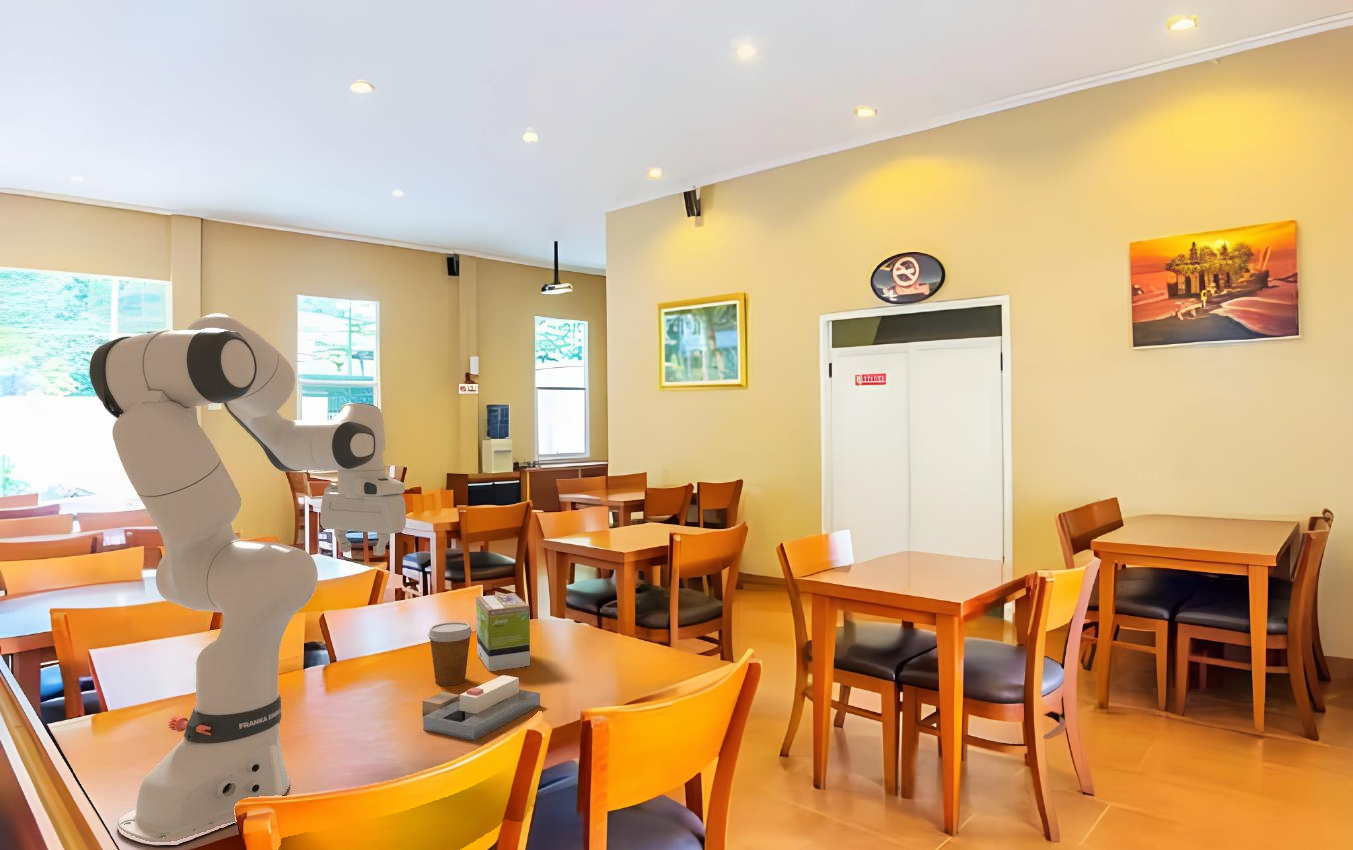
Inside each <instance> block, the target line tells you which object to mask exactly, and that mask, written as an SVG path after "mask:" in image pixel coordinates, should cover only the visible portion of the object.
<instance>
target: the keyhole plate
mask: <svg viewBox="0 0 1353 850" xmlns="http://www.w3.org/2000/svg"><path fill="white" fill-rule="evenodd" d="M538 705H540V706H541V693H540V692H538V691H537V692H536V691H532V690H531V691H530V690H525V689H520V688H519V693H517V694H515V695H513V696H511V697H509V698H507V699H505V701H503V702H501V703H499V704H497V705H493V706H491V707H489V708H487V709H485V710H483V711H481V712H479V713H477V714H475V716H473V717H471V718H469V719H466V720H465V711H460V700H458V701H456V702H454V703H451V704H449V705H447V706H445V707H443V708H441V709H438V710H436V711H434V712H432V713H430V714H428V715H425V716H423V715H422V717H423V718H422V719H423V723H422V724H423V725H422V726H423V731H426V732H427V731H428V732H432V733H437V734H441V735H446V736H451V737H454V738H455V737H456V738H458V739H459V738H460V739H463V740H467V741H473V742H475V741H477V740H479V739H480V737H481V738H482V737H484V736H485V734H486V735H488V734H489V732H490V733H491V731H492V732H494V731H495V730H497V729H499V728H500V727H503V726H505V725H506V724H508V723H510V722H513V721H514V720H515V719H517V717H518V718H519V717H521V716H523V715H526V713H528V712H531V711H533V710H534V709H536V708H538V707H539V706H538ZM537 706H538V707H537ZM535 707H536V708H535ZM513 719H514V720H513ZM509 721H510V722H509ZM502 725H503V726H502ZM498 727H499V728H498ZM487 733H488V734H487ZM478 738H479V739H478ZM476 739H477V740H476Z"/></svg>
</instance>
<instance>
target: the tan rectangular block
mask: <svg viewBox="0 0 1353 850" xmlns="http://www.w3.org/2000/svg"><path fill="white" fill-rule="evenodd" d="M458 700H460V694H454V693H451V692H450V693H449V692H445V691H441V692H439V693H436V694H435V695H433V696H430V697H428V698H425V699H424V700H421V701H422V709H421V710H422V711H421V713H422V717H423V716H425V715H428V714H430V713H432V712H434V711H436V710H438V709H441V708H443V707H445V706H447V705H449V704H451V703H454V702H456V701H458Z"/></svg>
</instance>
